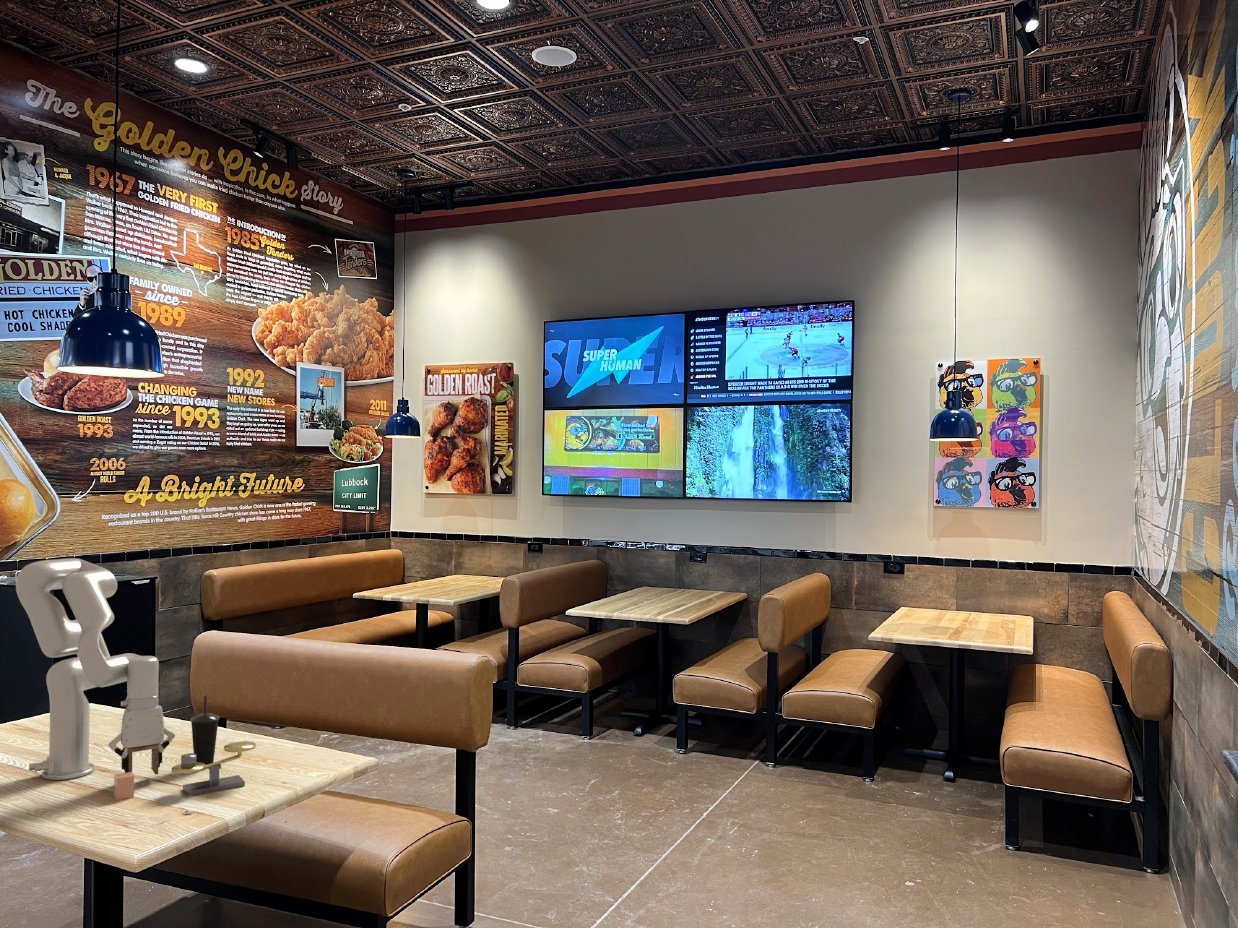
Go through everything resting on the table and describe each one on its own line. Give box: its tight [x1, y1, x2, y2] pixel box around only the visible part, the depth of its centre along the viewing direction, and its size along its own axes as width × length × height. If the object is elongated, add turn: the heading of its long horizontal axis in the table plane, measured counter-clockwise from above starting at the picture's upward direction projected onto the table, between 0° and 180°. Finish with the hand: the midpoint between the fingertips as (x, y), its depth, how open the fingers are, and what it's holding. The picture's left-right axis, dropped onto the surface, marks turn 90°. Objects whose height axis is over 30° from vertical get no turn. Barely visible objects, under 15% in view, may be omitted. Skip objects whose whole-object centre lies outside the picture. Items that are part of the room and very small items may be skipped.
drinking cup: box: [190, 695, 220, 765], centre depth 260 cm, size 8×8×20 cm
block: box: [113, 771, 135, 801], centre depth 235 cm, size 4×4×6 cm
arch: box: [128, 744, 159, 776], centre depth 246 cm, size 7×6×8 cm
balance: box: [171, 740, 257, 797], centre depth 242 cm, size 21×8×10 cm, turn 127°
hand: (141, 768), depth 246 cm, fingers closed on arch, 7 cm apart
